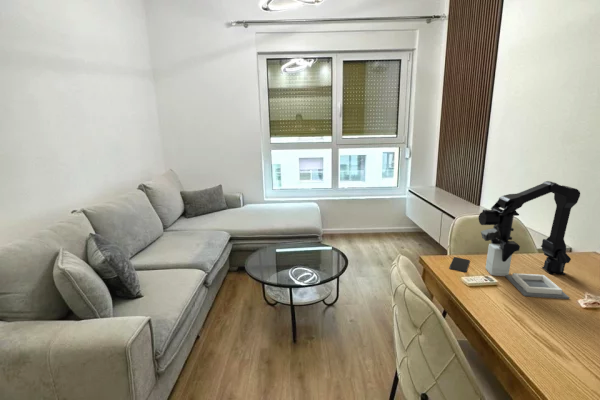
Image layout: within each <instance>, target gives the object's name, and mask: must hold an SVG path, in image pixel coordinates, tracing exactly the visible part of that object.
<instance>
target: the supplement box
mask: <svg viewBox="0 0 600 400" xmlns="http://www.w3.org/2000/svg"><path fill="white" fill-rule="evenodd" d="M499 247H500V244H492V243H489V244H488V247H487V255H486V263H485V270H486V271H487V272H488V273H489V274H490V275H491V276H498V277H505V276H506V275H509V273H510V270H511V269H510V267H511V263H512V256H513V254H512V255H511V256H510V257H509V258H508V259H507V260H506V261H505V262H503V261H502V250H501V249H500V248H499Z"/></svg>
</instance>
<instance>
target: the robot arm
mask: <svg viewBox="0 0 600 400" xmlns="http://www.w3.org/2000/svg"><path fill="white" fill-rule="evenodd" d="M551 193H552V194H554V196H553V200H554V202H555V205H556V207H555V211H554V216H553V220H552V224H551V229H550V234H549V236H548V237H546V238H543V239H542V243H541V246H540V248H541V251H543V254H544V256H546V259H545V260H544V265H543V266H541V267H542V269H543V270H544V271H546V272H547V273H548V274H550V275H563V276H566V275H567V273H566V272H564V271H565V267H566V264H570V262H571V260H572V258H571V257H570V256H569V255H568V254H567V244H566V242H565V235H566V231H567V226H568V223H569V218H570V215H571V210H572V208H573V207H574V206H575V205H577V203H578V201H579V199H580V198H581V192H580V190H579V189H578V188H575V187H571V186H566V185H560V184H558V183H557V182H553V181H550V180H547V181H544V182H542V183H540V184H538V185H535V186H533V187H530V188H528V189H526V190H523V191H520V192H517V193H508V194H504V195H501V196H500V197H498V200H497V201H496V202H495V204H493V205H492V206H491V208H490V209H482V211H481V212H480V213H479V215H478V222H479V224H480V225H481V226H493V227H492V228H488V229H484V230H481V231H480V234H481V237H482V239H483V240H484V241H485V242H488V241H490V244H500V247H499V248H500V249H501V250H502V261H503V262H505V261H506V260H507V259H508V258H509V257H510V256H511V255H512V256H513V254H514V253H515V252H519V251H520V247H521V246H520V245H519V244H518V243H517V242H516V241H513V237H512V236H511V234H512V232H514V230H515V229H514V228H513V224H514V223H513V222H514V216H516V217H517V216H520V213H518V211H517V210H519V209H520V208H522V207H523V205H524V204H526V203H527V202H530V201H533V200H535V199H538V198H541V197H543V196H546V195H549V194H551Z"/></svg>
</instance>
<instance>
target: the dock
mask: <svg viewBox="0 0 600 400" xmlns="http://www.w3.org/2000/svg"><path fill="white" fill-rule="evenodd" d="M504 277H505V278H506V279H507V280H508V281H509V282H510V283H511V284H512V285H513V286H514V287H515V288H516V289H517V291H519V292H520V293H521V295H522V296H524V297H532V298H546V299H561V300H569V299H570V296H569V295H567V294H566V293H565V292H564V291H563V289H562V288H561V287H560V286H559V285H557V284H556V283H555V282H553V281H552V280H551V279H550V278H549V277H547V276H546V275H544V274H537V273H536V274H534V273H533V274H532V273H517V272H514V273H512V274H510V275H506V276H504Z"/></svg>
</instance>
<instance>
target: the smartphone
mask: <svg viewBox="0 0 600 400" xmlns="http://www.w3.org/2000/svg"><path fill="white" fill-rule="evenodd" d="M470 261H471V260H470V259H466V258H461V257H458V256H457V257H455V256H454V257H453V258H452V261H451V262H450V265H449V266H448V268H449V270H452V271H456V272H461V273H467V272H468V268H469V265H470V263H471V262H470Z"/></svg>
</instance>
